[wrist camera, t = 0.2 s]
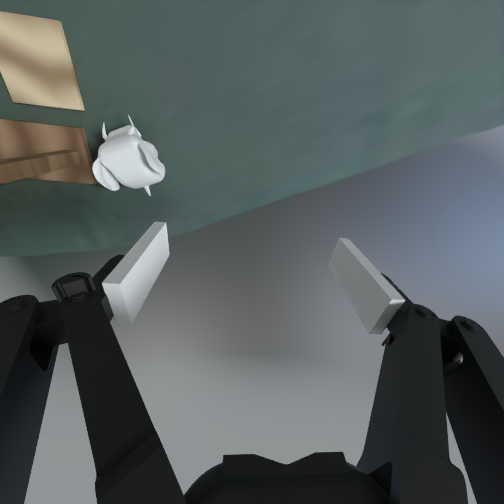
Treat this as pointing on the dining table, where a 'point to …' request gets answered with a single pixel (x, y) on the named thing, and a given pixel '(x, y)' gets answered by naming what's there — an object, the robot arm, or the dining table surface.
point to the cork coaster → (37, 62)
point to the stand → (44, 152)
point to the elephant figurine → (127, 160)
